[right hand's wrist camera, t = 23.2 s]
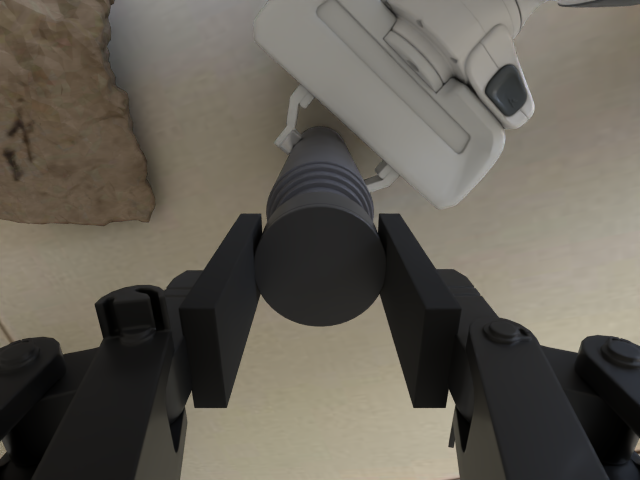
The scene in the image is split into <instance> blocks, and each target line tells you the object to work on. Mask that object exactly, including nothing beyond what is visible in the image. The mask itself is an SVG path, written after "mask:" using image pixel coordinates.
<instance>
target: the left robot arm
mask: <svg viewBox="0 0 640 480" xmlns="http://www.w3.org/2000/svg"><path fill="white" fill-rule="evenodd" d="M546 1H550V0H269V1H268V2H267V3H266V4H265V6H264V7H263V8H262V9H261V11H260V12H259V13H258V15H257V16H256V18H255V20H254V22H253V36H254V41H255V43H256V44H257V45H258V46H260V47H261V48H262V49H263V50H264V51H265V52H266V53H267V54H268V55H269V56H270V57H271V58H273V59H274V60H275V61H276V62H277V63H278V64H279V65H280V66H281V67H282V68H283V69H285V70H286V71H287V72H288V73H289V74H290V75H291V76H292V77H293V78H295V79H296V80H297V81H298V82H299V83H300V85H299V86H298V87H297V89H296V90H295V91H294V93H293V94H292V95H291V96H290V101H289V108H288V115H287V122H286V124H287V126H286V128H285V129H284V130H283V131H282V133H281V134H280V135H279V136H278V138H277V139H276V140H275V142H274V144H275V145H276V146H278V147H279V148H280V149H281V150H283V151H284V152H285V153H286V154H287V155H289V153H290V152H291V151H292V149H293V147H294V145H296V144H297V143H298V142H299V141H300V140H301V139H302V137H303V135H301V134H300V133H299V132H298V131H297V130H296V123H297V117H298V111H299V105H300V106H301V107H302V108H306V107H307V106H308V105H309V104H310V103H311V101H312V100H313V99H314V98H316V99H317V100H319V101H320V102H321V103H322V104H323V105H324V106H325V107H326V108H327V109H328V110H329V111H331V112H332V113H333V114H334V115H335V116H336V117H337V118H338V119H339V120H340V121H341V122H343V123H344V124H345V125H346V126H347V127H348V128H349V129H350V130H351V131H352V132H354V133H355V134H356V135H357V136H358V137H359V138H360V139H361V140H362V141H363V142H364V143H366V144H367V145H368V146H369V147H370V148H371V149H372V150H373V151H374V152H375V153H376V154H378V155H379V156H380V157H381V158H382V159H383V160H382V161H381V163H380V164H379V165H378V166H377V167H376V168H375V171H376V173H377V174H378V175H377V176H374V177H371V178H368V179H366V180H364V182H365V184H366V186H367V188H368V190H369V192H373V191H376V190H379V189H383V188H386V187H389V186H390V185H391V184H392V183H393V182H394V181H395V180H396V179H397V178H398V177H399V176H402V177H403V178H404V179H405V180H406V181H407V182H408V183H409V184H410V185H411V186H412V187H413V188H415V189H416V190H417V191H418V192H419V193H420V194H421V195H422V196H423V197H424V198H426V199H427V200H428V201H429V202H430V203H431V204H432V205H433V206H434V207H435V208H437V209H445V208H450V207H453V206H455V205H457V204H458V203H459V202H460V201H461V200H462V199H463V198H464V197H465V196H467V195H468V193H469V192H470V191H471V190H472V189H473V188H474V187H475V186H476V185H477V184H478V183H479V182H480V181H481V179H482V178H483V177H484V176H485V175H486V174H487V172H488V171H489V170H490V169H491V167H492V166H493V165H494V164H495V162H496V161H497V160H498V158H499V156H500V155H501V153H502V151H503V148H504V145H505V132H504V129H517V128H519V127H521V126H522V125H523V124H525V123H526V122H527V121H528V120H529V119H530V118H531V116H532V115H533V113H534V110H535V105H534V101H533V98H532V95H531V93H530V90H529V88H528V85H527V82H526V80H525V77H524V74H523V72H522V69H521V66H520V63H519V60H518V57H517V54H516V50H515V47H514V43H513V39H514V38H515V37H516V36H517V35H518V33H519V32H520V30H521V29H522V27H523V26H524V24H525V22H526V21H527V19H528V18H529V16H530V15H531V14H532V13H533V11H534V10H535V9H536V8H537V7H538V6H540V5H541V4H543V3H544V2H546ZM553 1H556V2H558V5H559V6H562V7H615V6H632V5H637V4H640V0H553Z"/></svg>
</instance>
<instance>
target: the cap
mask: <svg viewBox="0 0 640 480" xmlns="http://www.w3.org/2000/svg"><path fill="white" fill-rule="evenodd" d="M254 268H255V281H256V284H257V287H258V289H259V291H260V293H261V295H262V296H263V298H264V299H265V301H266V302H267V303H268V304H269V305H270V306H271V307H272V308H273V309H274V310H275V311H276V312H277V313H279V314H280V315H282V316H283V317H285V318H287V319H289V320H291V321H294V322H296V323H299V324H303V325H308V326H332V325H337V324H341V323H344V322H347V321H349V320H351V319H353V318H355V317H357V316H358V315H360V314H362V313H363V312H364V311H365V310H367V309H368V308H369V307H370V306H371V305H372V304H373V302H374V301H375V300H376V298H377V297H378V295H379V294H380V292H381V290H382V288H383V285H384V282H385V272H386V254H385V250H384V247H383V245H382V242H381V240H380V237H379V235H378V232H377V230H376V228H375V225H374V223H373V221H372V219H371V218H370V216H369V215H368V214H367V212H366V211H365V210H364V209H363V208H362V207H361V206H360V205H358V204H357V203H356V202H354V201H353V200H351V199H349V198H347V197H345V196H342V195H340V194H336V193H332V192H320V191H316V192H308V193H304V194H301V195H298V196H296V197H293V198H291V199H289V200H288V201H286V202H285V203H283V204H282V205H281V206H280V207H279V208H278V209H277V210H275V212H274V213H273V214H272V215H271V217H270V218H269V220H268V222H267V224H266V226H265V228H264V231H263V233H262V236H261V238H260V241H259V243H258V246H257V248H256V251H255V255H254Z"/></svg>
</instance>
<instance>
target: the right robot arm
mask: <svg viewBox="0 0 640 480" xmlns="http://www.w3.org/2000/svg"><path fill="white" fill-rule="evenodd" d="M378 235H379V237H380V240H381V242H382V245H383V247H384V250H385V254H386V272H385V282H384V285H383V288H382V290H381V292H380V297H381V300H382V303H383V307H384V310H385V313H386V317H387V320H388V324H389V327H390V330H391V334H392V337H393V340H394V344H395V347H396V351H397V354H398V357H399V361H400V364H401V367H402V371H403V374H404V377H405V381H406V384H407V388H408V391H409V394H410V398H411V401H412V404H413V408H446V402H447V396H448V390H450V393H451V395H452V397H453V399H454V402H455V404H456V405H455V410H454V416H453V422H452V427H451V433H450V439H449V446H448V447H452V448H454V442H455V443H456V451H457V459H458V466H459V474H460V480H640V456H639V455H638V454H637V453H636V452H635V451H634V449H635V447H636V445H637V442H638V440H639V438H640V346H638V345H636V344H634V343H632V342H630V341H628V340H625V339H622V338H621V339H619V338H618V337H613V336H601V335H595V336H589V337H586V338H585V339H584V340H583V341H582V342H581V345H580V348H579V352H578V353H576V352H570V351H565V350H560V349H555V348H550V347H545V346H541V345H540V344H539V342H538V340H537V338H536V337H535V336H534V335H533V334H532V332H531V331H530V330H528V329H527V328H525V327H524V326H522V325H520V324H518V323H516V322H513V321H511V320H508V319H503V318H499V317H498V316H497V315H496V313H495V312H494V311H493V310H492V308H491V307H490V306H489V305H488V303H487V302H486V301H485V300H484V298H483V297H482V296H480V293H479V292H478V291H477V290H476V288H474V286H473V285H472V283H471V282H470V281H469V280H468V278H467V277H466V276H464V275H462V274H461V273H459V272H457V271H456V270H454V269H436V268H435V267H434V265H433V264H432V262H431V261H430V259H429V258H428V256H427V255H426V253H425V252H424V250H423V249H422V247H421V246H420V244H419V243H418V241H417V240H416V238H415V237H414V235H413V234H412V232H411V231H410V229H409V228H408V226H407V225H406V223H405V221H404V220H403V218H402V217H401V215H400V214H379V224H378ZM261 236H262V220H261V214H240V216H239V217H238V219H237V220H236V222H235V223H234V225H233V226H232V228H231V229H230V231H229V232H228V234H227V236H226V237H225V239H224V240H223V242H222V243H221V245H220V246H219V248H218V249H217V251H216V252H215V254H214V255H213V257H212V258H211V260H210V261H209V263H208V264H207V266H206V267H205V269H204V270H187V271H185V272H184V273H182V274H180V275H179V276H177V277H175V278H174V279H173V280H172V281H171V283H170V284H169V285H168V286H167V289H166V290H162V289H161V288H160V287H156V286H152V285H136V286H130V287H125V288H122V289H119V290H116V291H113V292H111V293H109V294H107V295H105V296H103V297H102V298H100V299H99V300H98V301H97V302H96V303H95V308H96V312H97V316H98V320H99V323H100V327H101V331H102V335H103V341H102V343H101V345H100V347H98V348H94V349H89V350H84V351H79V352H74V353H68V354H62V351H61V347H60V344H59V342H57V341H56V340H55V339H54V338H47V337H37V338H27V339H22V340H21V341H20V340H18V341H15V342H12V343H10V344H9V345H7V346H4V347H2V348H0V441H1V440H2V442H3V444H4V446H5V449H6V451H7V452H6V453H5V454H4V455H3V457H2V458H1V459H0V480H180V475H181V467H182V460H183V452H184V444H185V436H186V429H187V417H186V410H185V404H186V402H187V400H188V397H189V395H190V393H191V390H192V395H193V401H194V407H195V408H227V405H228V402H229V398H230V395H231V392H232V388H233V385H234V382H235V378H236V375H237V372H238V368H239V365H240V361H241V358H242V355H243V351H244V348H245V345H246V341H247V338H248V334H249V331H250V328H251V324H252V321H253V318H254V314H255V311H256V308H257V304H258V301H259V297H260V294H261V293H260V291H259V289H258V287H257V284H256V281H255V268H254V255H255V251H256V248H257V246H258V243H259V241H260V238H261Z"/></svg>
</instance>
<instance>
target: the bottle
mask: <svg viewBox="0 0 640 480" xmlns="http://www.w3.org/2000/svg"><path fill="white" fill-rule="evenodd" d="M301 135H303V137H302V139H301V140H300V141H299V142H298V143H297V144H296V145H294V147H293V149H292V151H291V153H290V155H289V157H288V159H287V161H286V163H285V165H284V167H283V169H282V171H281V173H280V175H279V177H278V179H277V181H276V183H275V185H274V187H273V188H272V190H271V192H270V195H269V198H268V202H267V210H266V215H267V222H268V220H269V218H270V217H271V215H272V214H273V213H274V212H275V210H277V209H278V208H279V207H280V206H281V205H282V204H283V203H285V202H286V201H288V200H289V199H291V198H293V197H296V196H298V195H301V194H304V193H308V192H316V191H320V192H332V193H336V194H340V195H342V196H345V197H347V198H349V199H351V200H353V201H354V202H356V203H357V204H358V205H360V206H361V207H362V208H363V209H364V210H365V211H366V212H367V214H368V215H369V216H370V218H371V219H372V221H373V218H374V208H373V201H372V197H371V195H370V192H369V190H368V188H367V186H366V184H365V182H364V180H363V178H362V176H361V174H360V172H359V170H358V168H357V166H356V164H355V162H354V160H353V158H352V156H351V154H350V152H349V150H348V148H347V147H346V145H345V143H344V141H343V139H342V138H341V136H340V135H339V134H338V133H337V132H335V131H334V130H332V129H330V128H327V127H313V128H310V129H308V130H306V131H305V132H303V133H302V134H301Z"/></svg>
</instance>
